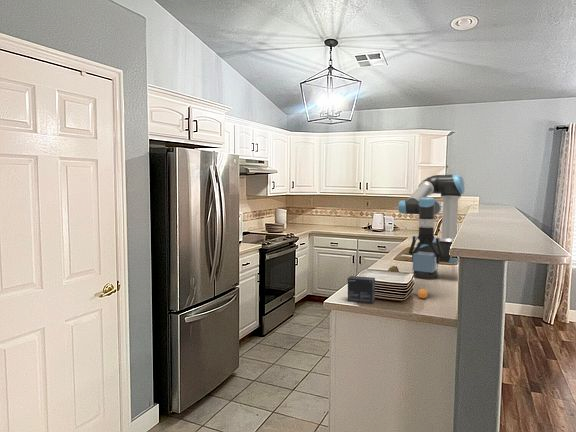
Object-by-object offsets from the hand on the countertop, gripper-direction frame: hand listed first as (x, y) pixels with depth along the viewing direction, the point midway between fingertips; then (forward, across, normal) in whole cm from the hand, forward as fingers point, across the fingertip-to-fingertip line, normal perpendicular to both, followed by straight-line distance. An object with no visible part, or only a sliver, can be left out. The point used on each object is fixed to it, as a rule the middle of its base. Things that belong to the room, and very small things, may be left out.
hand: (425, 268), depth 223 cm
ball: (+12, +1, -6) cm, 14 cm away
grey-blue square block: (+1, 0, 0) cm, 1 cm away
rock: (+15, -27, +22) cm, 38 cm away
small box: (+16, -24, -26) cm, 39 cm away
